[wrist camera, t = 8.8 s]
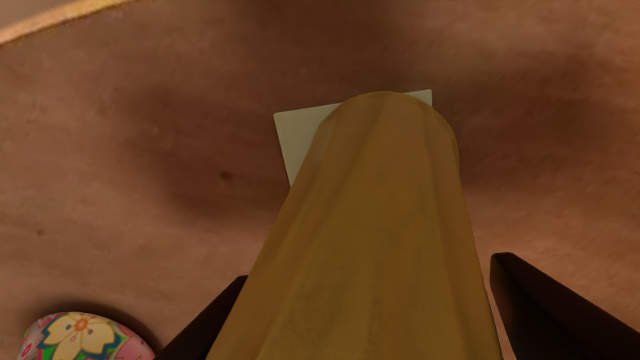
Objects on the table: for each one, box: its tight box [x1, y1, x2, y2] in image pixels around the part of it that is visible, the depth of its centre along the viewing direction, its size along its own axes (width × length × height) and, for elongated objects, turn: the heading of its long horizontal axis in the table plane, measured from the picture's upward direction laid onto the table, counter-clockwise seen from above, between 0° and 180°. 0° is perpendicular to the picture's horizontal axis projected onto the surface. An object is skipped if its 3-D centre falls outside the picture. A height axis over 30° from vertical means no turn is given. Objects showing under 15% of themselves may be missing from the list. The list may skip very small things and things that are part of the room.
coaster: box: [273, 89, 432, 187], centre depth 15 cm, size 6×5×1 cm
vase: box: [205, 91, 504, 360], centre depth 9 cm, size 6×6×14 cm
